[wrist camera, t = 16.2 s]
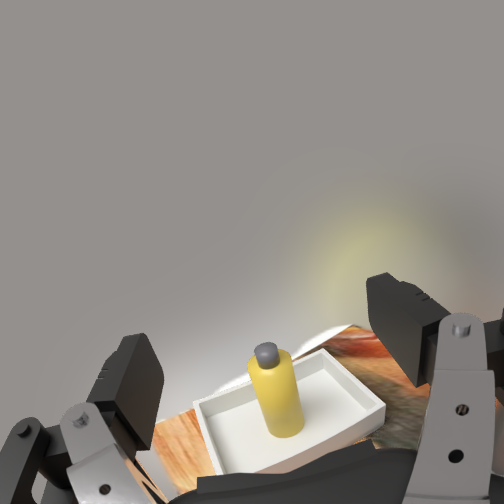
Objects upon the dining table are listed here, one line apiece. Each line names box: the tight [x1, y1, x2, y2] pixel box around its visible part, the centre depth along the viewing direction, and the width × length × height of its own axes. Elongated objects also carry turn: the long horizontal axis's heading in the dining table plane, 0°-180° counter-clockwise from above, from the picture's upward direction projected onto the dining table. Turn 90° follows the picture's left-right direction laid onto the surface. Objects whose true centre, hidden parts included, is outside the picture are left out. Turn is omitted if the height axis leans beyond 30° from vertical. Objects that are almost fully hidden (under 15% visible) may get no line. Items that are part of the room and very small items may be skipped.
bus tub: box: [193, 349, 386, 475], centre depth 38 cm, size 22×16×4 cm
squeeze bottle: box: [247, 342, 305, 438], centre depth 36 cm, size 5×5×14 cm
